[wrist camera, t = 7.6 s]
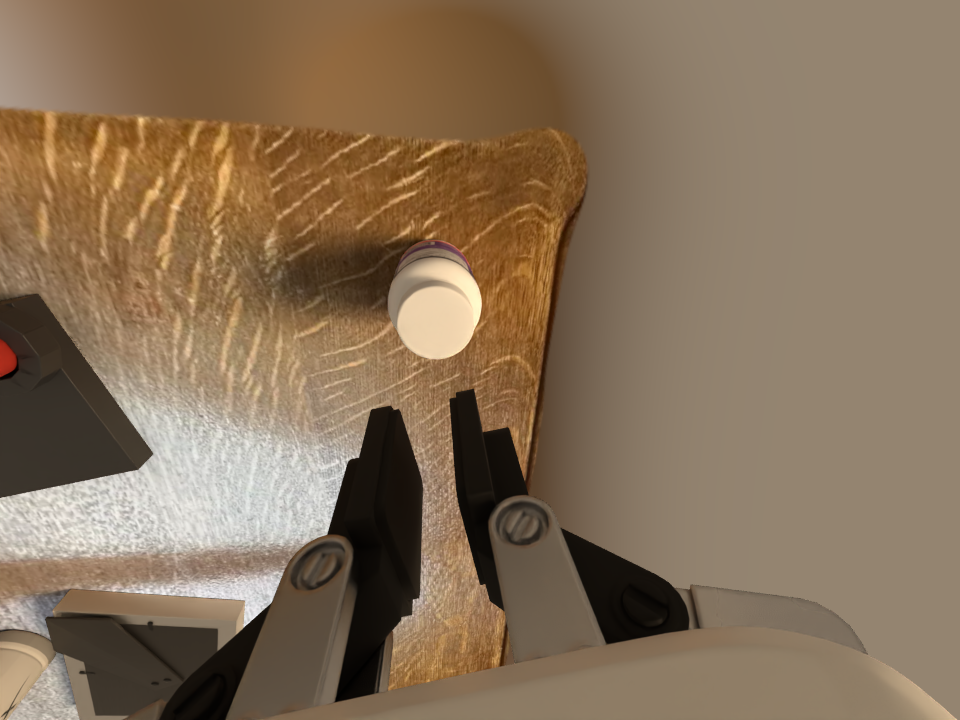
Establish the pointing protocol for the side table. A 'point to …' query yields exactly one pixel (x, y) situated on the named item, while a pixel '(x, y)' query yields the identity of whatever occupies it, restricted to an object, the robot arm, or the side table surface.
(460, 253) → the pill bottle
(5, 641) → the travel mug
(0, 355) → the button
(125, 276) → the side table surface
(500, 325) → the side table surface
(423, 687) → the robot arm
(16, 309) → the black base plate
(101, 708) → the picture frame
